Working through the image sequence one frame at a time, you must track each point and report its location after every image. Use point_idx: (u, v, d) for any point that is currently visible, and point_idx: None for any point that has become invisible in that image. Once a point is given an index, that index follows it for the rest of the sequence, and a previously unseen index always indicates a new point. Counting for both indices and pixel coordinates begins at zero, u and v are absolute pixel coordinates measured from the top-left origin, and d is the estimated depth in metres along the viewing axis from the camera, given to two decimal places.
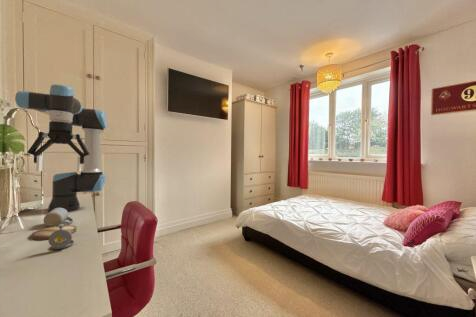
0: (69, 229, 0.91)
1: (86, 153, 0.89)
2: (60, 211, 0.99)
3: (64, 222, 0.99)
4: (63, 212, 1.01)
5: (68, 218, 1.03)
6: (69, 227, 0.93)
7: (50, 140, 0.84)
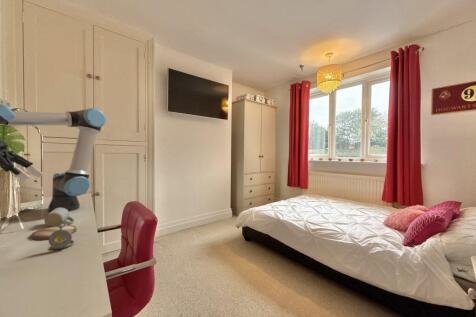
0: (69, 229, 0.91)
1: None
2: (61, 211, 0.99)
3: (65, 222, 0.99)
4: (64, 212, 1.01)
5: (69, 218, 1.04)
6: (69, 227, 0.93)
7: None
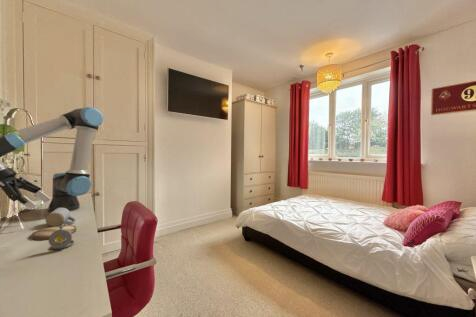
0: (69, 229, 0.91)
1: None
2: (62, 211, 0.99)
3: (66, 222, 0.99)
4: (65, 212, 1.01)
5: (70, 218, 1.04)
6: (69, 227, 0.93)
7: None
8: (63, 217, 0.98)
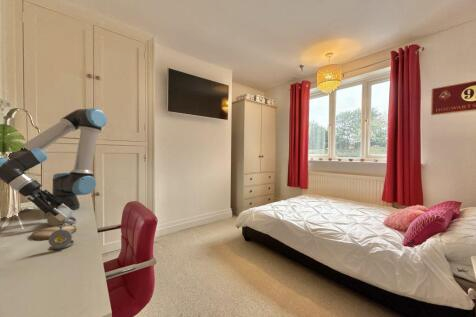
0: (69, 229, 0.91)
1: None
2: (63, 211, 1.00)
3: (67, 222, 0.99)
4: (66, 212, 1.01)
5: (71, 218, 1.04)
6: (69, 227, 0.93)
7: None
8: None
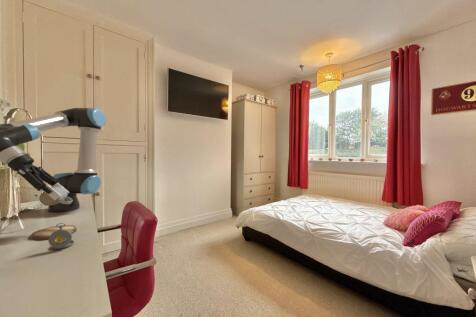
0: (69, 229, 0.91)
1: None
2: (58, 190, 0.89)
3: (62, 201, 0.89)
4: (61, 191, 0.91)
5: (67, 198, 0.94)
6: (69, 227, 0.93)
7: None
8: None
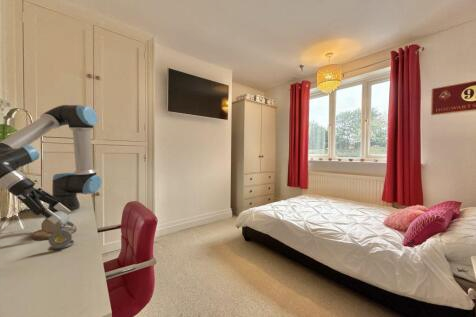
0: None
1: None
2: (60, 216, 0.89)
3: (65, 228, 0.88)
4: (63, 216, 0.90)
5: (69, 223, 0.93)
6: None
7: None
8: (61, 222, 0.87)
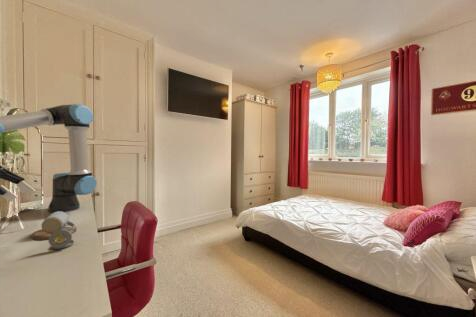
0: None
1: None
2: (60, 216, 0.89)
3: (65, 227, 0.88)
4: (63, 216, 0.90)
5: (69, 223, 0.93)
6: None
7: None
8: (61, 222, 0.87)
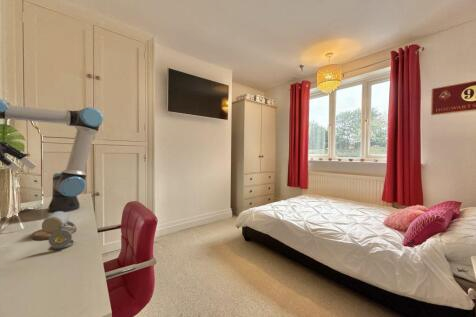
0: None
1: None
2: (60, 216, 0.89)
3: (65, 227, 0.88)
4: (64, 216, 0.90)
5: (69, 223, 0.93)
6: None
7: None
8: (61, 222, 0.87)
